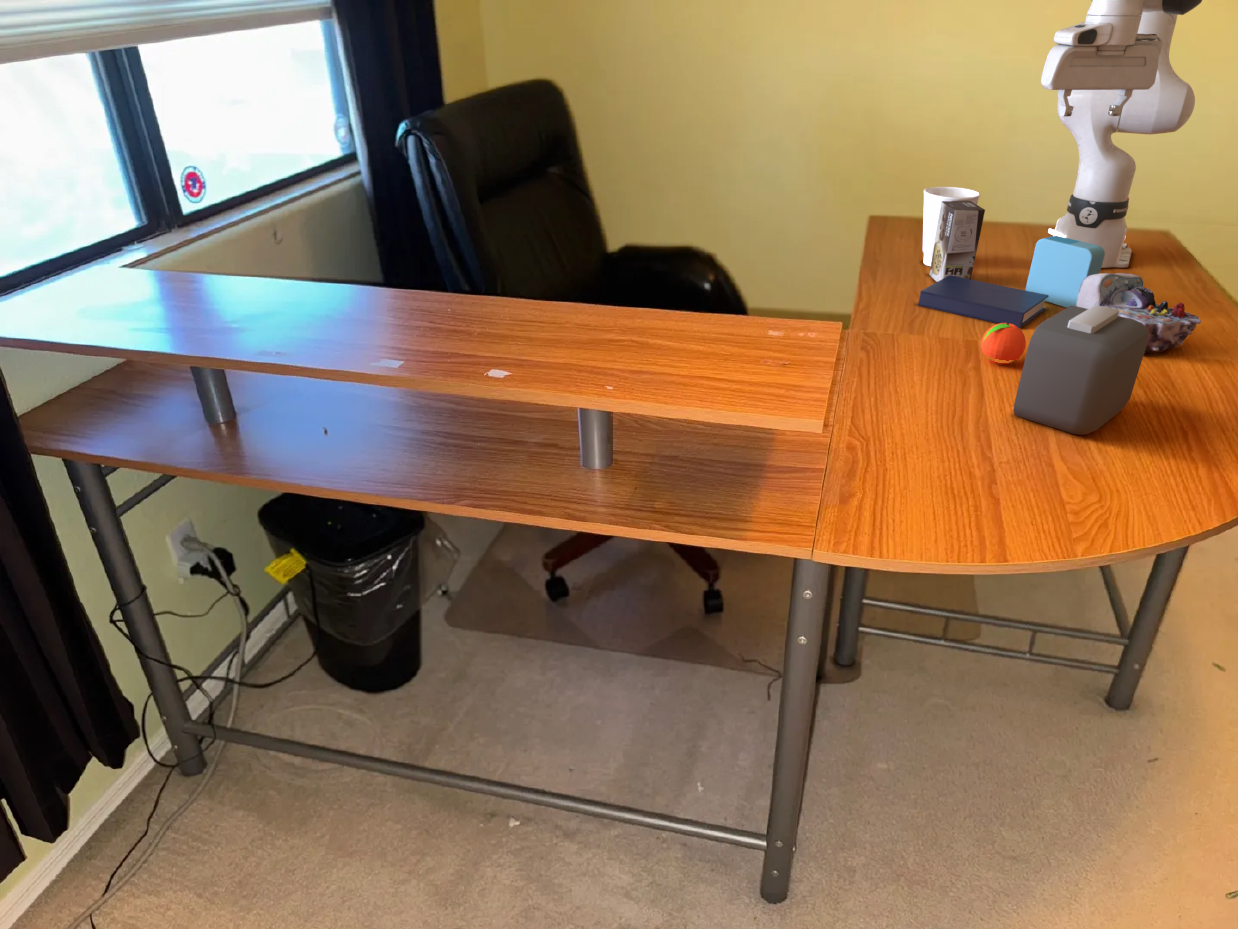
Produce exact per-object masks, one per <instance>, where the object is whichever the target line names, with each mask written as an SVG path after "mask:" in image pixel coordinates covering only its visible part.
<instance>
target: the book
mask: <svg viewBox="0 0 1238 929" xmlns="http://www.w3.org/2000/svg"><path fill="white" fill-rule="evenodd" d="M1048 296H1049V295H1045V294H1040V293H1035V292H1030V291H1026V289H1020V288H1015V287H1009V286H1004V285H1000V284H994V283H990V282H985V281H979V280H975V279H971V280H970V279H965V278H961V277H956V276H951V275H949V276H947V277H945V278H944V279H942V280H940V281H938V282H936V281H935V282H934V283H933V284H931V285H929V286H926V288H924V289H921V290H920V293H919V298H918V304H917V306H918V307H924V308H928V309H931V310H932V309H933V310H937V311H941V312H945V313H950V314H954V315H959V316H964V317H967V318H973V319H977V320H981V321H984V322H985V321H986V322H990V323H994V324H999V323H1010V324H1013V325H1015V326H1017V327H1018V328H1019V329H1021V328H1023V327H1024V326H1026V325H1027V324H1028V323H1030V322H1031V321H1032V320H1033V319H1036V317H1038V316H1039V315H1040V314H1042V313H1043V312H1044V311H1045V310H1046V307H1044V305H1045V302H1046V301H1045V299H1046V298H1048Z"/></svg>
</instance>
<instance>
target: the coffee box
mask: <svg viewBox="0 0 1238 929" xmlns="http://www.w3.org/2000/svg"><path fill="white" fill-rule="evenodd" d="M985 213H986V209H985V208H983V207H981V206H980V205H978V204H977V205H976V204H975V203H973V202H971V201H942V202H941V208H940V214H939V220H938V225H937V231H936V238H935V244H934V250H933V256H932V262H931V266H930V269H929V276H930V277H931V278H932V279H933V280H934V281H935V283H936V282H938V281H940V280H942V279H944V278H945V277H947V276H949V275H951V276H956V277H961V278H965V279H970V280H972V277H973V272H974V267H975V262H976V257H977V252H978V247H979V243H980V242H979V241H980V237H981V233H982V227H983V223H984V217H985Z"/></svg>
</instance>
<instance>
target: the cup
mask: <svg viewBox="0 0 1238 929" xmlns="http://www.w3.org/2000/svg"><path fill="white" fill-rule="evenodd" d="M980 197H981V194H980V192H978V191H976V190H974V189H969V188H965V187H955V186H932V187H927V188H924V189H923V219H922V221H923V224H922V253H923V259H922V260H923V261H922V262H923V265H925V266H928V267H931V262H932V256H933V250H934V244H935V238H936V231H937V225H938V220H939V214H940V208H941V202H942V201H971V202H973V203H975V204H976V205H978V204H979V203H978V202H979V199H980Z"/></svg>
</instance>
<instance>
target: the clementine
mask: <svg viewBox="0 0 1238 929" xmlns="http://www.w3.org/2000/svg"><path fill="white" fill-rule="evenodd" d="M1026 346H1027V340H1026V336H1025V334H1024V332H1023V330H1022V329H1021V328H1018V327H1017V326H1015V325H1013V324H1010V323H999V324H998V323H995V324H994V325H991V326H990V327H989V328H988V329H986V331H985V332H984V334H983V336H982V338H981V340H980V349H981V352H983V353H984V354H985V355H986V356H989V357H992V358H994V359H999V360H1006V361H1009V360H1016V359H1017V360H1018V359H1020V358H1021V357H1022V355H1024V352H1025V349H1026ZM983 353H982V354H983ZM984 354H983V355H984ZM1017 360H1016V361H1017ZM988 361H989V362H990V363H993V364H994V365H995V364H996V365H1002V366H1003V365H1004V366H1005V365H1009V364H1010V363H998V362H994V361H991V360H988Z"/></svg>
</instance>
